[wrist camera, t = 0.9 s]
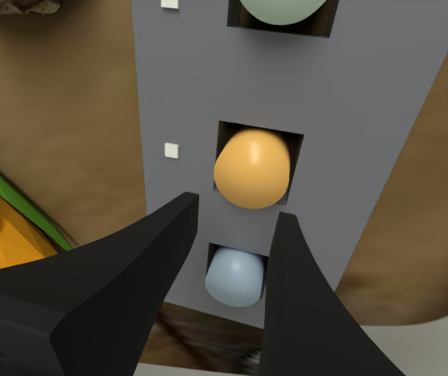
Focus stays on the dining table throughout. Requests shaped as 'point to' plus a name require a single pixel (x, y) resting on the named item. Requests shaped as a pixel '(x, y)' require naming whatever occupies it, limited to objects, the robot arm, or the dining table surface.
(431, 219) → the dining table surface
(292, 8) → the green button
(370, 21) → the button console
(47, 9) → the bread roll
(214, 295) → the blue button
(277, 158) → the orange button
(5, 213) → the corn
